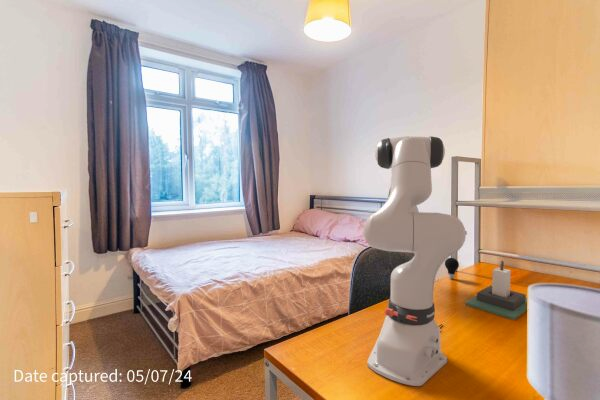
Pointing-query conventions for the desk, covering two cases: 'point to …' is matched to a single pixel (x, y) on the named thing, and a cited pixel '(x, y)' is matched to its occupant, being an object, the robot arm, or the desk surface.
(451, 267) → the light bulb
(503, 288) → the plug
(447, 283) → the desk surface
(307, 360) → the desk surface
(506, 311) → the board
